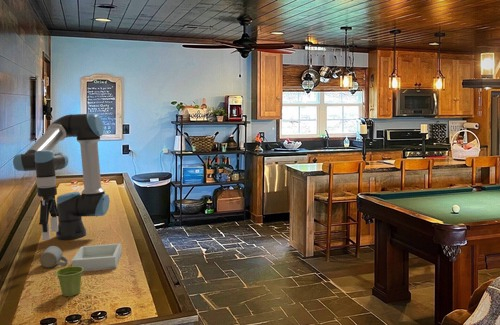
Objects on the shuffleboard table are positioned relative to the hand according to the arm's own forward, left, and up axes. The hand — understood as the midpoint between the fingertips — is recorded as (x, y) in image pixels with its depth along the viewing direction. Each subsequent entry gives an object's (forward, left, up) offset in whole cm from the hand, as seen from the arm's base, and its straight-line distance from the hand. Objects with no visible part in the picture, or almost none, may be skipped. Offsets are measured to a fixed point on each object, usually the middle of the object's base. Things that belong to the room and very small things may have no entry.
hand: (50, 235), depth 200 cm
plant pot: (+36, +15, -14) cm, 41 cm away
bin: (+2, +19, -13) cm, 23 cm away
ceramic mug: (0, +1, -14) cm, 14 cm away
